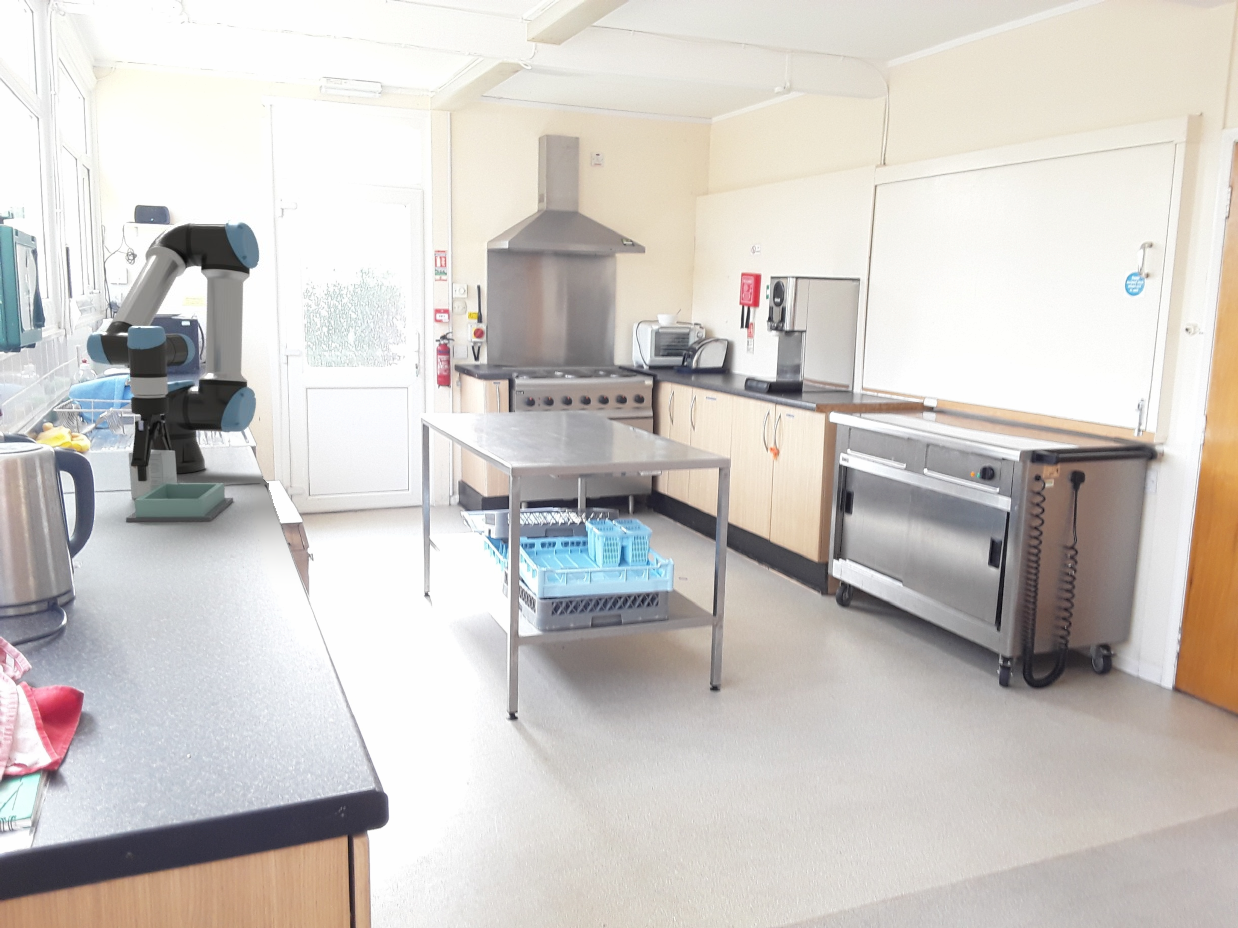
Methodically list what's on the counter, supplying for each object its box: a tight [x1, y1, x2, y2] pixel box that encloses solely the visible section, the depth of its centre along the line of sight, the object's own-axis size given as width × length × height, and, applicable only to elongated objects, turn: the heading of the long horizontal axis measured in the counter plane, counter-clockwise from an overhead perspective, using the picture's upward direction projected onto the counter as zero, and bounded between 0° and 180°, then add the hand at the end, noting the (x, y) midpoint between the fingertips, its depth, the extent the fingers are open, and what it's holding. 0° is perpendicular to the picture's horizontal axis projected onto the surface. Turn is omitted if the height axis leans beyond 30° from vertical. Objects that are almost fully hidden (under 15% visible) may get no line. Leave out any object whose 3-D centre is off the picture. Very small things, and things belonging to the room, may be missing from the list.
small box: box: [128, 450, 178, 500], centre depth 214 cm, size 8×6×10 cm
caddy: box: [125, 482, 234, 523], centre depth 201 cm, size 20×16×4 cm
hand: (154, 489), depth 214 cm, fingers open, 13 cm apart
